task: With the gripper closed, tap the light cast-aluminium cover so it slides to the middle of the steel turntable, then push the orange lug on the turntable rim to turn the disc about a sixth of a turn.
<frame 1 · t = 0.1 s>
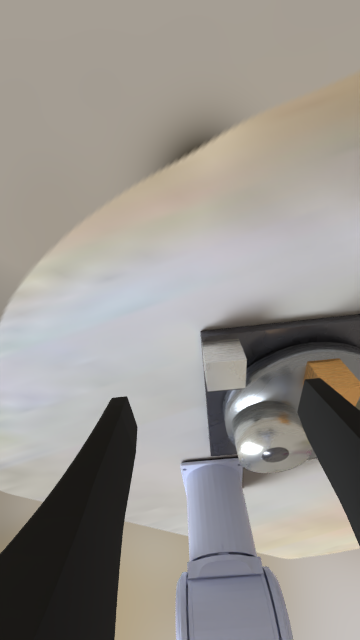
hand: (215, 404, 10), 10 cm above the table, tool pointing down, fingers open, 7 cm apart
cover: (263, 422, 22), point 3 cm above the table, touching turntable
turntable: (310, 423, 22), point 3 cm above the table, hinge at 0.0°, touching cover
base plate: (294, 393, 25), on the table
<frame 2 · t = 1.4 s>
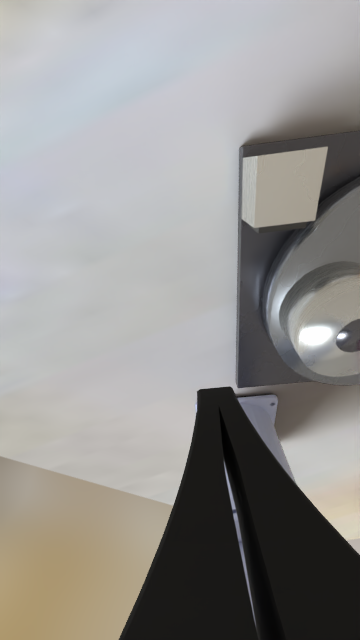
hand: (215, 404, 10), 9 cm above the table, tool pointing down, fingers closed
cover: (326, 307, 15), point 3 cm above the table, touching turntable
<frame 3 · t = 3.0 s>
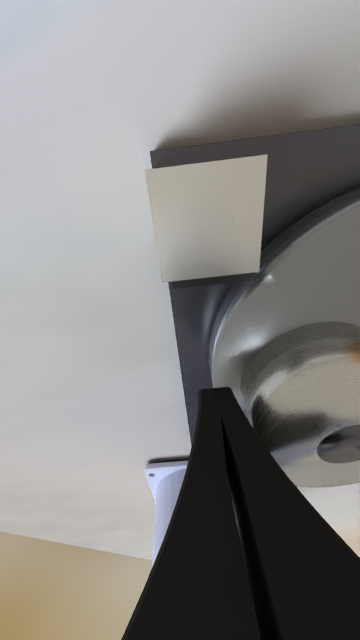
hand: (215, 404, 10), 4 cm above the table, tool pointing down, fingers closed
cover: (308, 378, 11), point 3 cm above the table, touching gripper
base plate: (345, 333, 13), on the table
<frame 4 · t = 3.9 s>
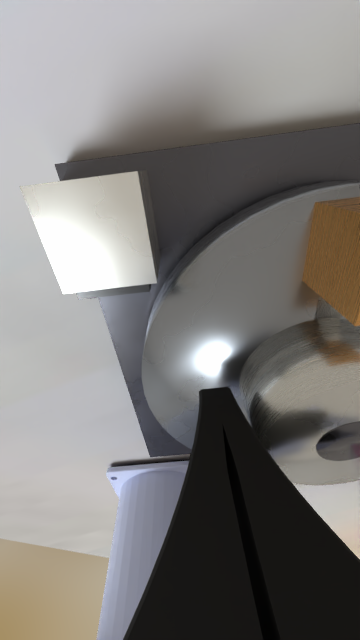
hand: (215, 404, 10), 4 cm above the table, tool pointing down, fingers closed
cover: (307, 376, 11), point 3 cm above the table, touching gripper, turntable
turntable: (318, 386, 10), point 3 cm above the table, hinge at 0.0°, touching cover
base plate: (286, 338, 13), on the table
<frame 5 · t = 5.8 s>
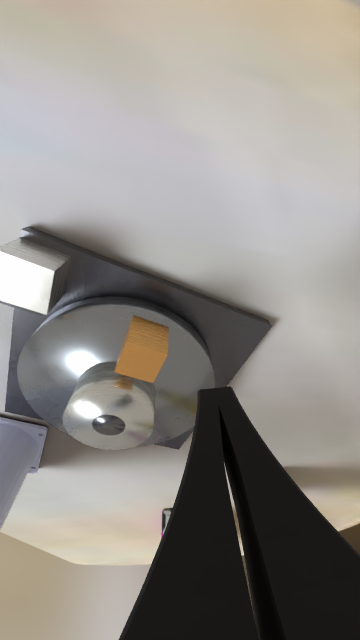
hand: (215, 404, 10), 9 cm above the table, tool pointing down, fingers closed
cover: (117, 390, 19), point 3 cm above the table, touching turntable
turntable: (118, 397, 19), point 3 cm above the table, hinge at 0.0°, touching cover
base plate: (125, 366, 21), on the table
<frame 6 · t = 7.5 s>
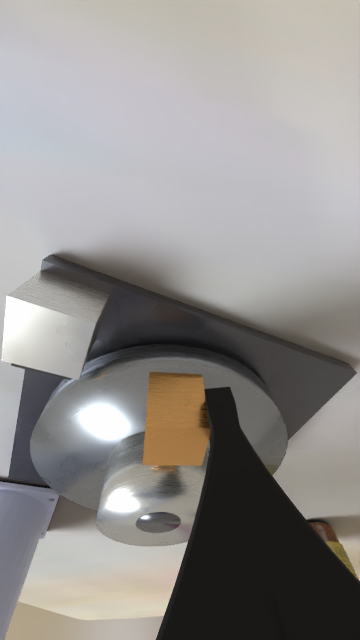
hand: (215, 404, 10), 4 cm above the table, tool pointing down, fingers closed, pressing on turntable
cover: (159, 461, 15), point 3 cm above the table, touching turntable
turntable: (163, 471, 14), point 3 cm above the table, hinge at 16.9°, touching cover, gripper
base plate: (163, 420, 17), on the table
sauce bottle: (304, 528, 29), on the table
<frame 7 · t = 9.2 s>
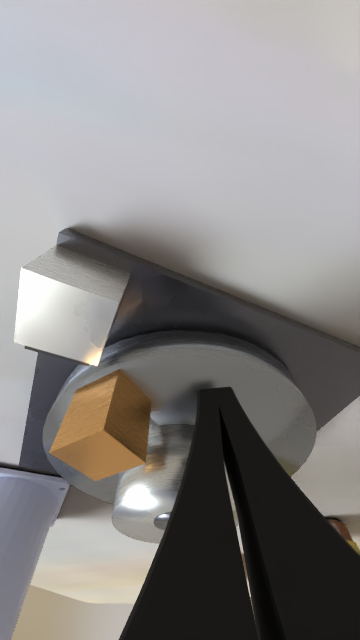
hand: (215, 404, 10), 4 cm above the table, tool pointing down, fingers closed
cover: (176, 456, 14), point 3 cm above the table, touching turntable
turntable: (181, 465, 13), point 3 cm above the table, hinge at 54.1°, touching cover
base plate: (179, 412, 16), on the table
sauce bottle: (316, 525, 28), on the table
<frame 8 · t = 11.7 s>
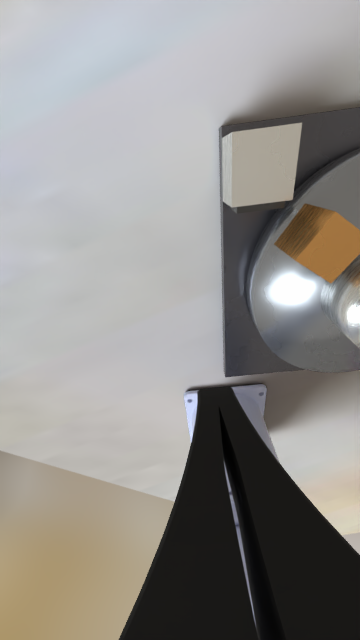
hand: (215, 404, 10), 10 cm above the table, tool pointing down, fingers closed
base plate: (346, 268, 18), on the table
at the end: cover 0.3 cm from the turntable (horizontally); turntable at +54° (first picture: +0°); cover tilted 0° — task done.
